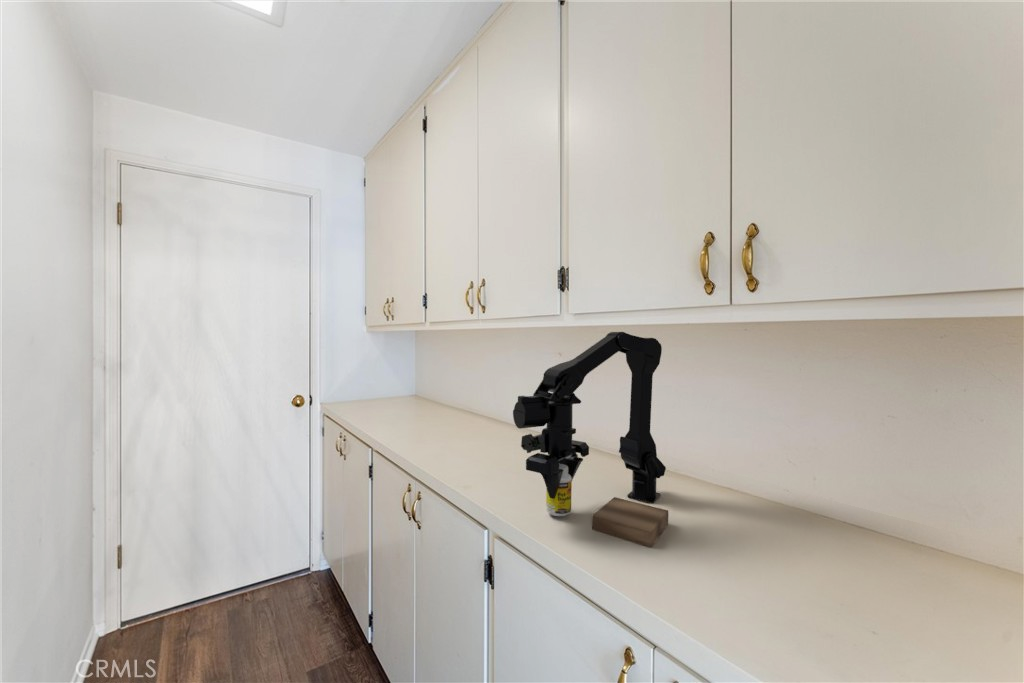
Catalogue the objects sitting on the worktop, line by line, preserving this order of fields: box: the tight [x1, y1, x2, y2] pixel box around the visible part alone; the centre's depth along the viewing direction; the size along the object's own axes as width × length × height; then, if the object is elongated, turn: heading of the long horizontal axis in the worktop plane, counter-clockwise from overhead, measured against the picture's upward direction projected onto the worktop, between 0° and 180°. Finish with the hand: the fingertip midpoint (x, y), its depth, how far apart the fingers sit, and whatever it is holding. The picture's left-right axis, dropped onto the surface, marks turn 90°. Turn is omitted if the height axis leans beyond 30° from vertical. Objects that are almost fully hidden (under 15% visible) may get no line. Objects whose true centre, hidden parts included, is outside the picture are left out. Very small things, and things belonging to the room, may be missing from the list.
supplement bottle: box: [545, 464, 573, 517], centre depth 91 cm, size 6×6×10 cm
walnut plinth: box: [591, 496, 669, 549], centre depth 85 cm, size 12×12×3 cm
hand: (558, 493), depth 91 cm, fingers closed on supplement bottle, 6 cm apart
